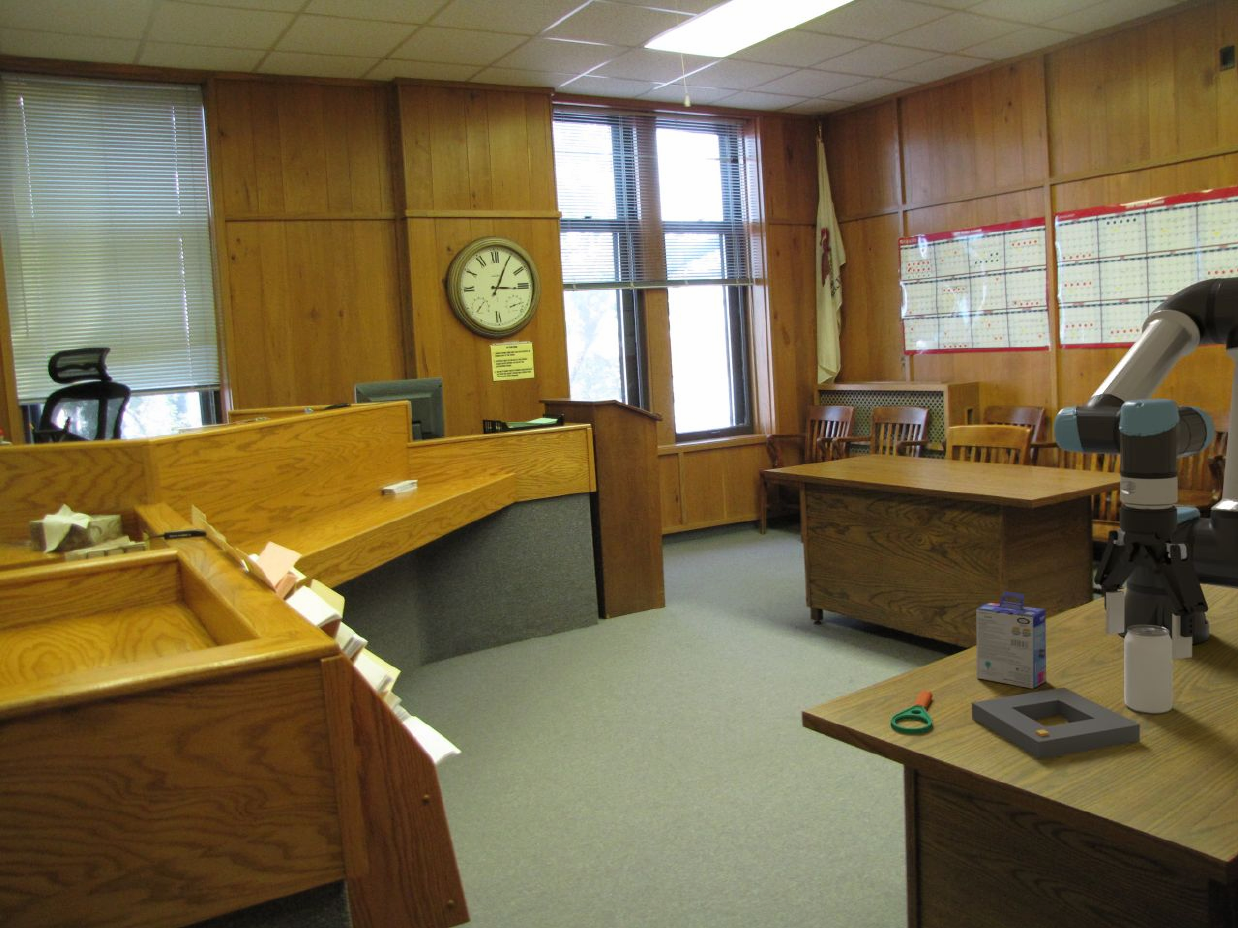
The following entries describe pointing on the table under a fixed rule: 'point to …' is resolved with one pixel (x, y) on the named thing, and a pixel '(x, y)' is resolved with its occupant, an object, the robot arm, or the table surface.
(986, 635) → the ink cartridge box
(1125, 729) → the socket block
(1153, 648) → the can
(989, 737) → the table surface
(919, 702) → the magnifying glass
